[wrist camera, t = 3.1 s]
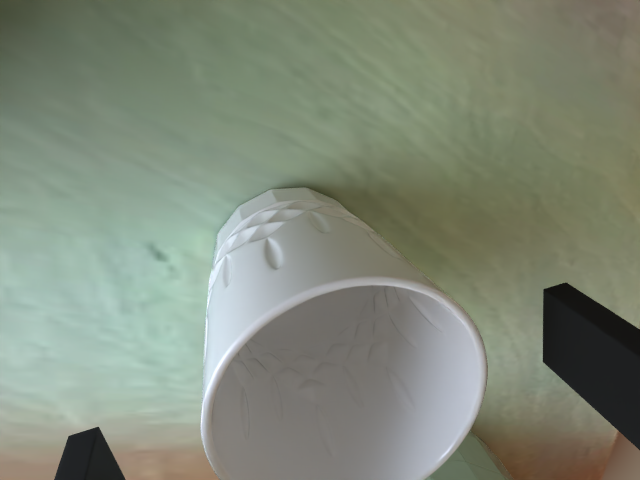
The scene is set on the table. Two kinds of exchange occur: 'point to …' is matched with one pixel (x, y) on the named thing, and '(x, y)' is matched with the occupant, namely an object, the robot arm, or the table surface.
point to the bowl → (472, 463)
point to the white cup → (330, 350)
